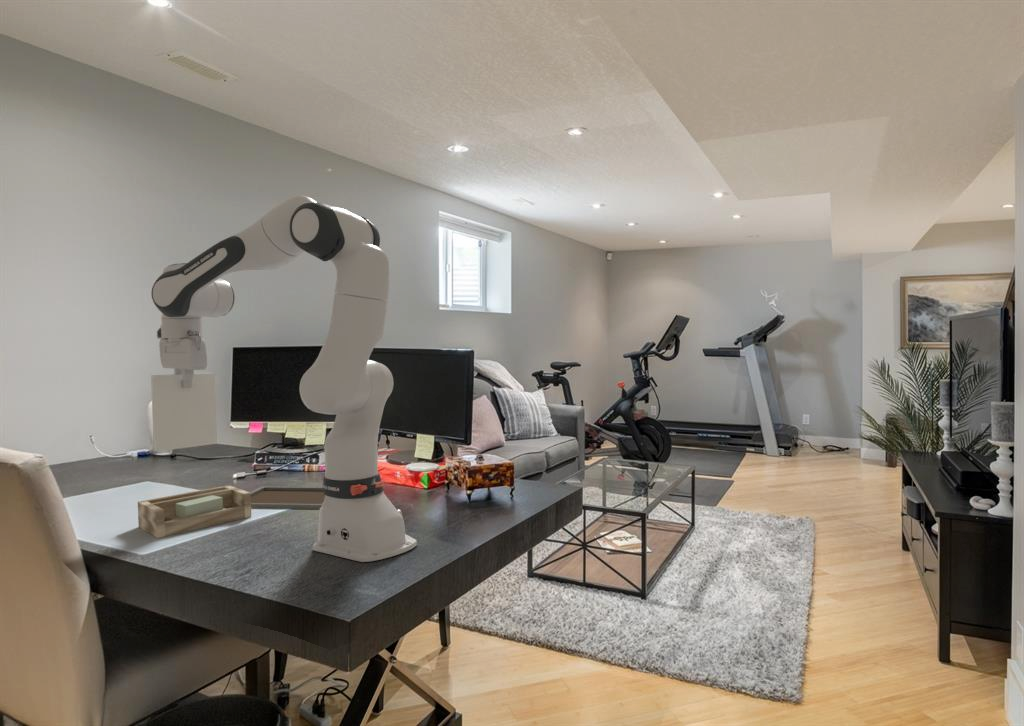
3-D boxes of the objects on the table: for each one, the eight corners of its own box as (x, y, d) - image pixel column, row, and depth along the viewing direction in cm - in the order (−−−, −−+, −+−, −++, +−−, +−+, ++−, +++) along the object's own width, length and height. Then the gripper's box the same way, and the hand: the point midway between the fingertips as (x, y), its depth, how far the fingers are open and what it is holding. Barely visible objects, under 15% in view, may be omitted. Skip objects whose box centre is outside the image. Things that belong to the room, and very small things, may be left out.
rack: (251, 516, 152) (250, 492, 152) (157, 538, 136) (156, 511, 136) (229, 507, 160) (228, 485, 160) (138, 526, 145) (137, 501, 145)
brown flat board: (325, 504, 158) (215, 503, 161) (325, 511, 158) (215, 509, 161) (351, 487, 177) (252, 486, 180) (351, 492, 177) (252, 491, 180)
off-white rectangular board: (216, 443, 155) (214, 372, 155) (155, 451, 145) (153, 375, 144) (214, 443, 156) (212, 372, 156) (153, 450, 146) (151, 375, 145)
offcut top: (223, 509, 149) (222, 497, 149) (186, 518, 142) (185, 506, 142) (212, 507, 152) (212, 495, 152) (176, 516, 144) (175, 503, 144)
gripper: (213, 330, 145) (215, 388, 145) (181, 331, 159) (182, 385, 159) (185, 330, 140) (186, 390, 141) (154, 331, 154) (155, 386, 155)
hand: (184, 387), depth 150 cm, fingers closed on off-white rectangular board, 2 cm apart
